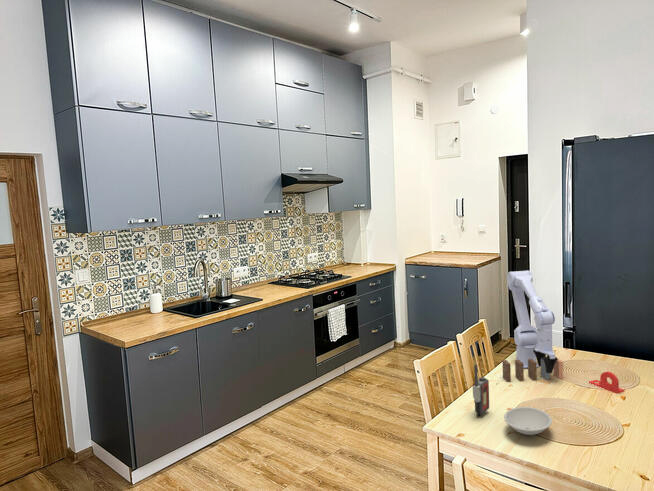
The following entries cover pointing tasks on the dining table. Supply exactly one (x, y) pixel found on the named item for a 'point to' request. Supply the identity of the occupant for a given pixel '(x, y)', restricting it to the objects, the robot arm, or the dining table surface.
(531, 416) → the dish
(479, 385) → the walkie-talkie
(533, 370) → the domino
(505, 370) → the brown wooden block
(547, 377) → the gap domino
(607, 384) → the bracket
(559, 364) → the domino
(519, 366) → the domino
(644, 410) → the dining table surface
